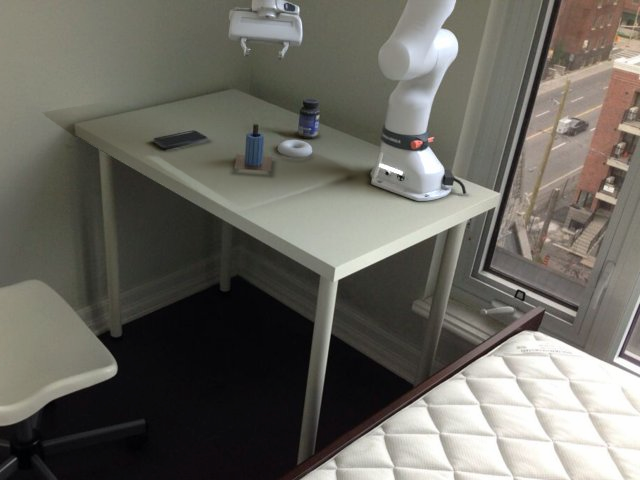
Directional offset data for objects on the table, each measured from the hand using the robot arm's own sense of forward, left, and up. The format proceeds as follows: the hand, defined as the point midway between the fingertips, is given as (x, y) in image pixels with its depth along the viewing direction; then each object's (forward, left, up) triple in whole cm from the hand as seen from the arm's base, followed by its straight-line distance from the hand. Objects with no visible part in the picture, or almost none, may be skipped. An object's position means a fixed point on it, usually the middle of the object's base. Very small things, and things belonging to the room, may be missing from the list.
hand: (263, 57), depth 197 cm
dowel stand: (-10, +9, -27) cm, 30 cm away
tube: (-10, +9, -25) cm, 29 cm away
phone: (+16, +16, -27) cm, 35 cm away
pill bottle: (+1, -21, -27) cm, 34 cm away
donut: (-9, -7, -27) cm, 29 cm away
